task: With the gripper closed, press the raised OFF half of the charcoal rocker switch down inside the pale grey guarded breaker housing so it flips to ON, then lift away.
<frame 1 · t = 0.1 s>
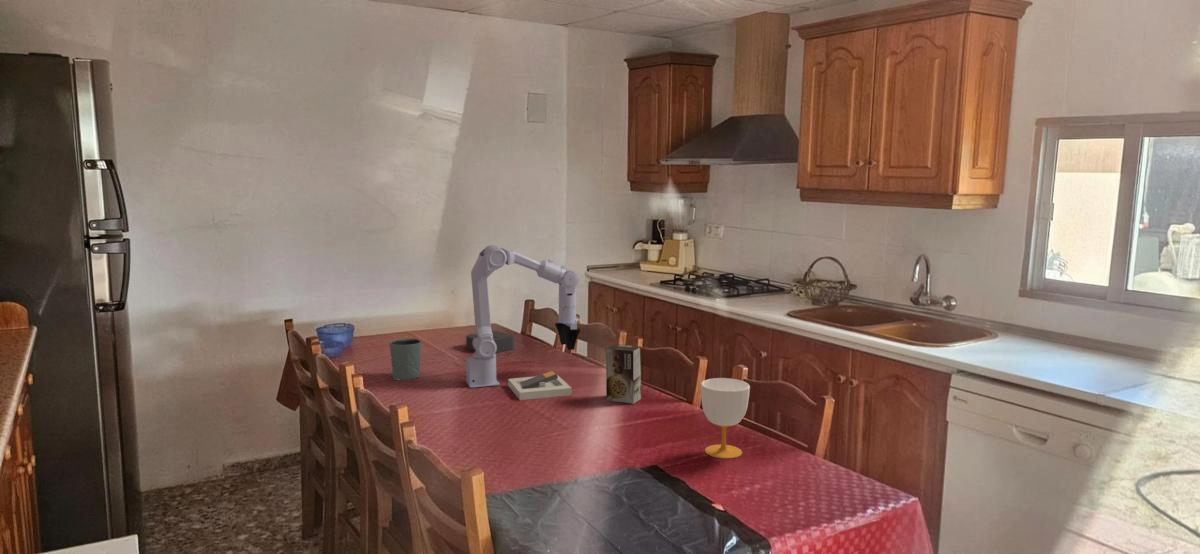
hand: (567, 346, 257), 10 cm above the table, fingers open, 7 cm apart
rocker: (538, 380, 242), point 3 cm above the table, hinge at -15.0°
cup: (723, 452, 191), on the table
breaker housing: (539, 390, 243), on the table
coffee box: (623, 400, 234), on the table
green plant pot: (406, 377, 258), on the table
streaming box: (490, 349, 298), on the table
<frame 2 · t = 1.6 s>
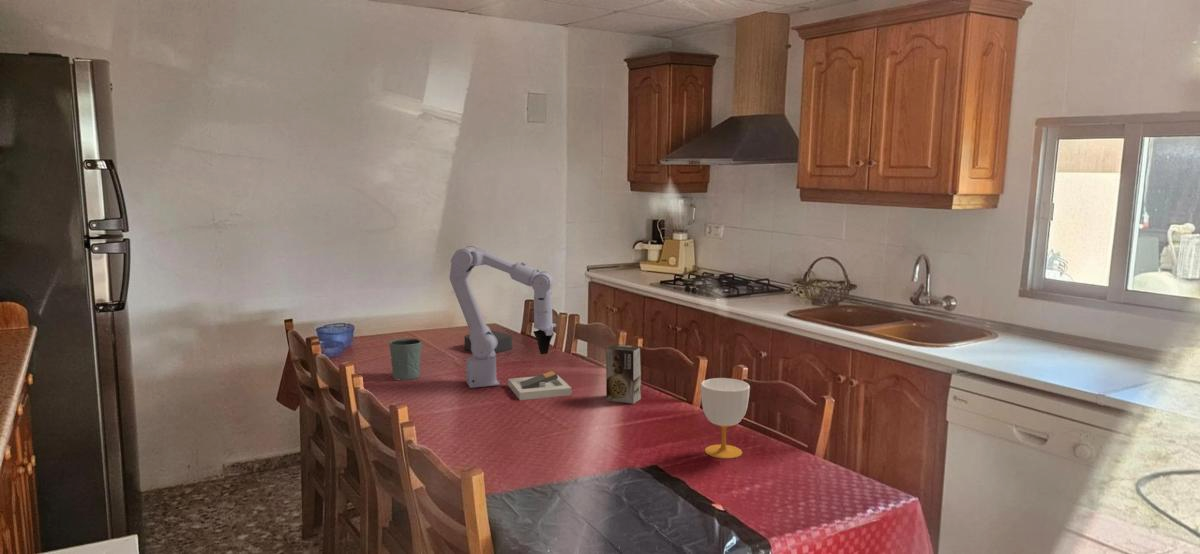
hand: (543, 353, 246), 11 cm above the table, fingers closed
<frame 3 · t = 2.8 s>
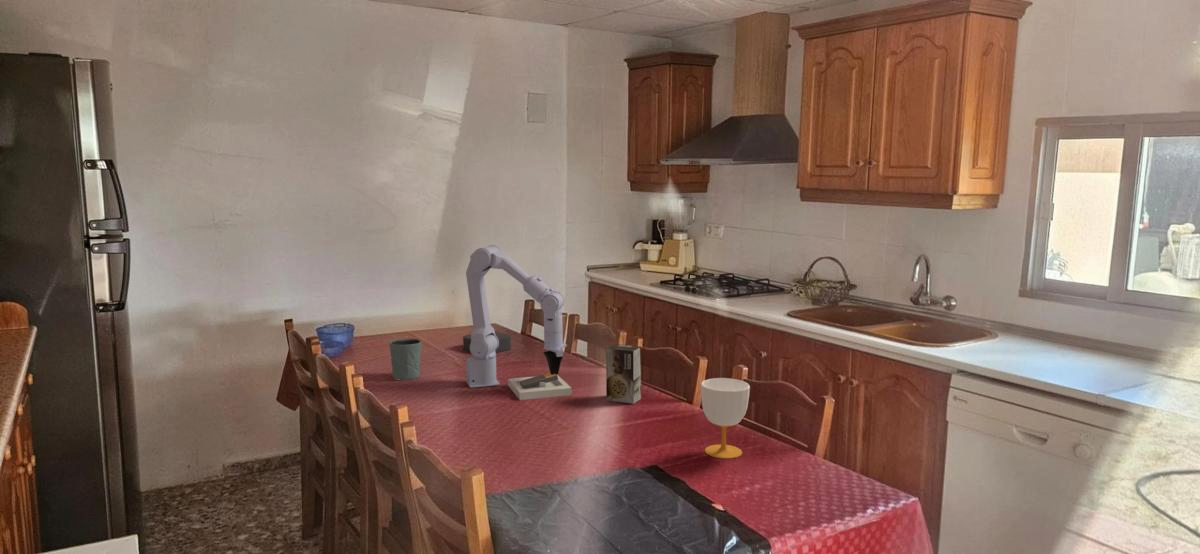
hand: (554, 374, 243), 5 cm above the table, fingers closed, pressing on rocker
rocker: (538, 380, 242), point 3 cm above the table, hinge at -11.1°, touching gripper
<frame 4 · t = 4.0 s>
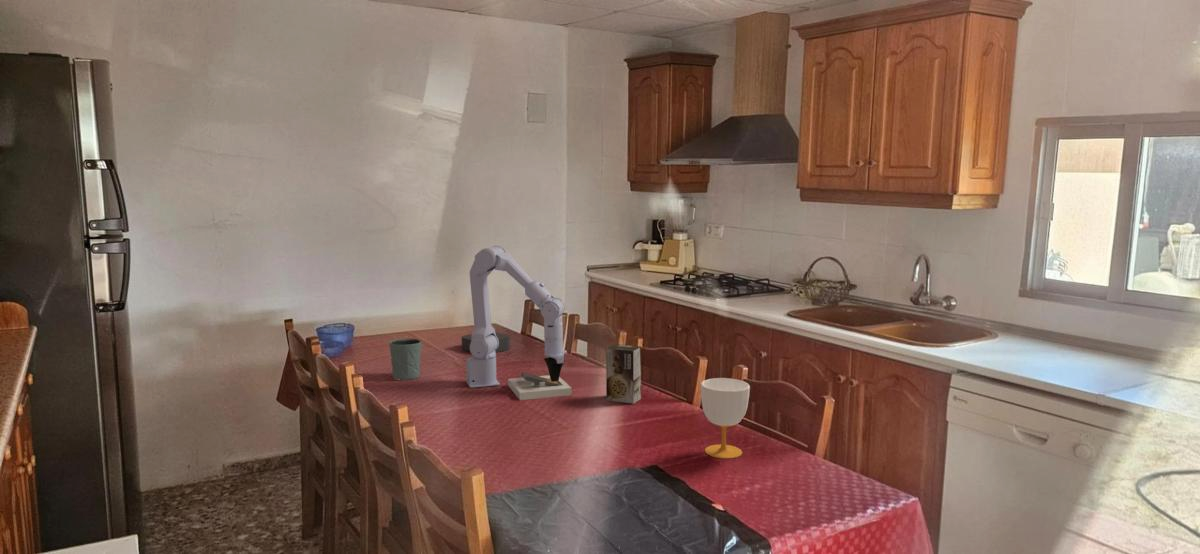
hand: (554, 380, 244), 3 cm above the table, fingers closed, pressing on rocker
rocker: (540, 379, 242), point 3 cm above the table, hinge at 19.5°, touching gripper
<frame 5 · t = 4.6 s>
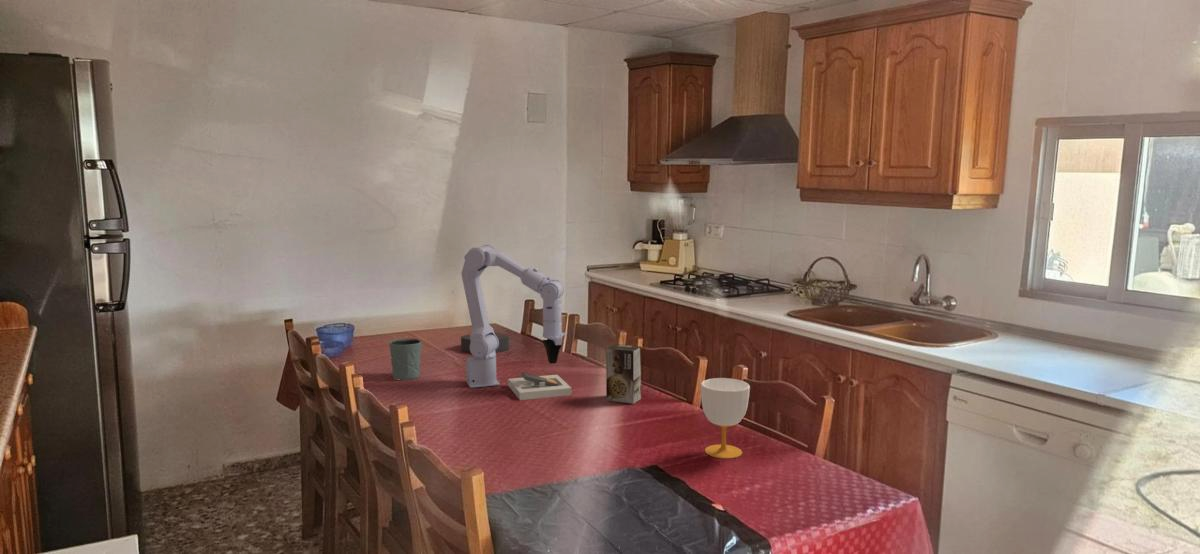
hand: (552, 362, 243), 8 cm above the table, fingers closed
rocker: (540, 379, 242), point 3 cm above the table, hinge at 19.6°
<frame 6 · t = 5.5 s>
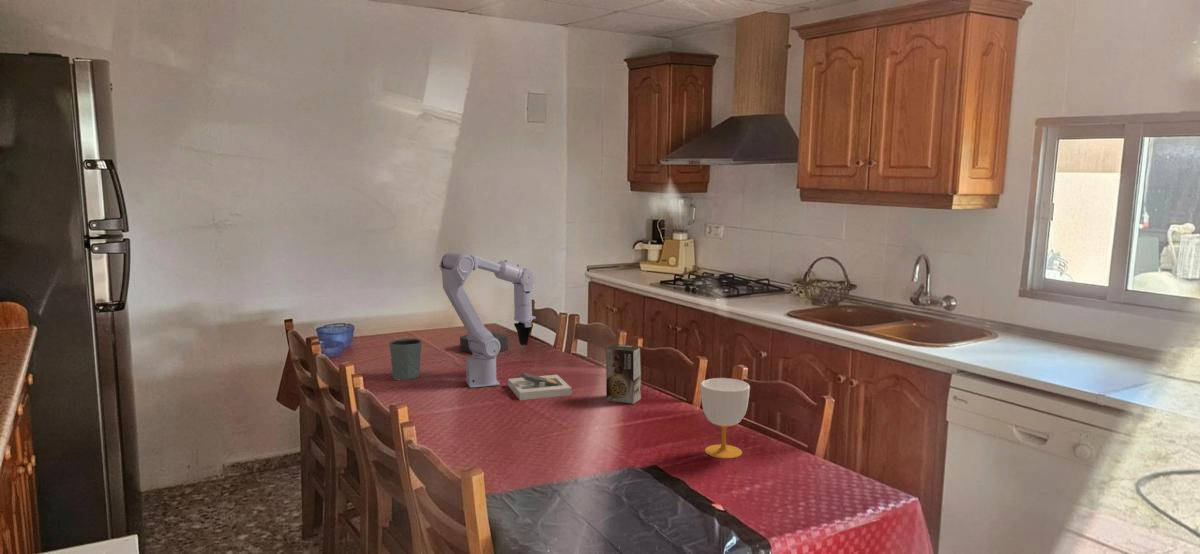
hand: (523, 344, 259), 10 cm above the table, fingers closed
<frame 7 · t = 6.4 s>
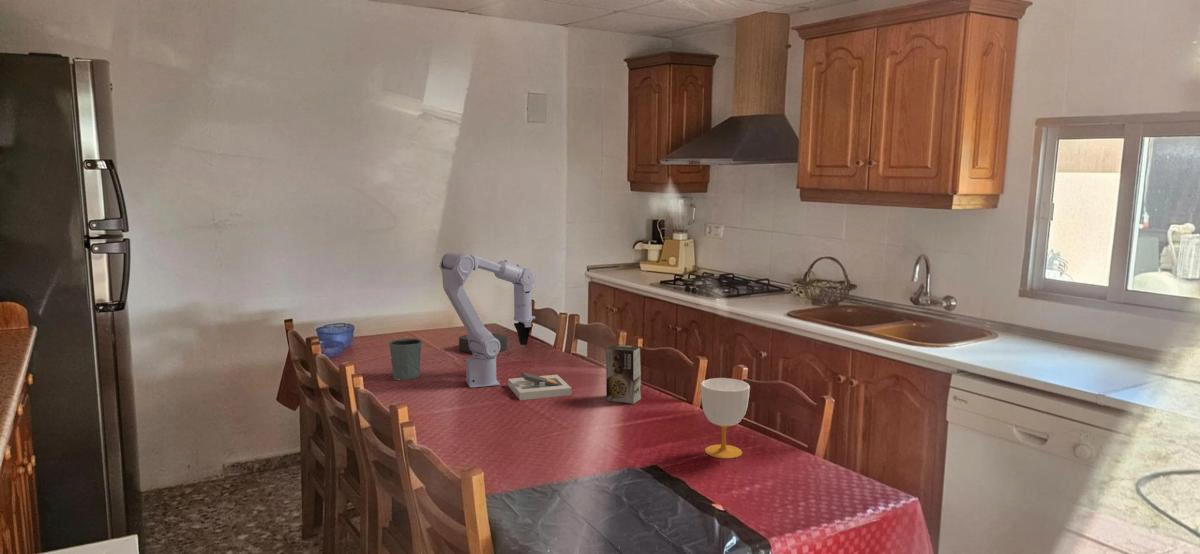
hand: (523, 344, 259), 10 cm above the table, fingers closed
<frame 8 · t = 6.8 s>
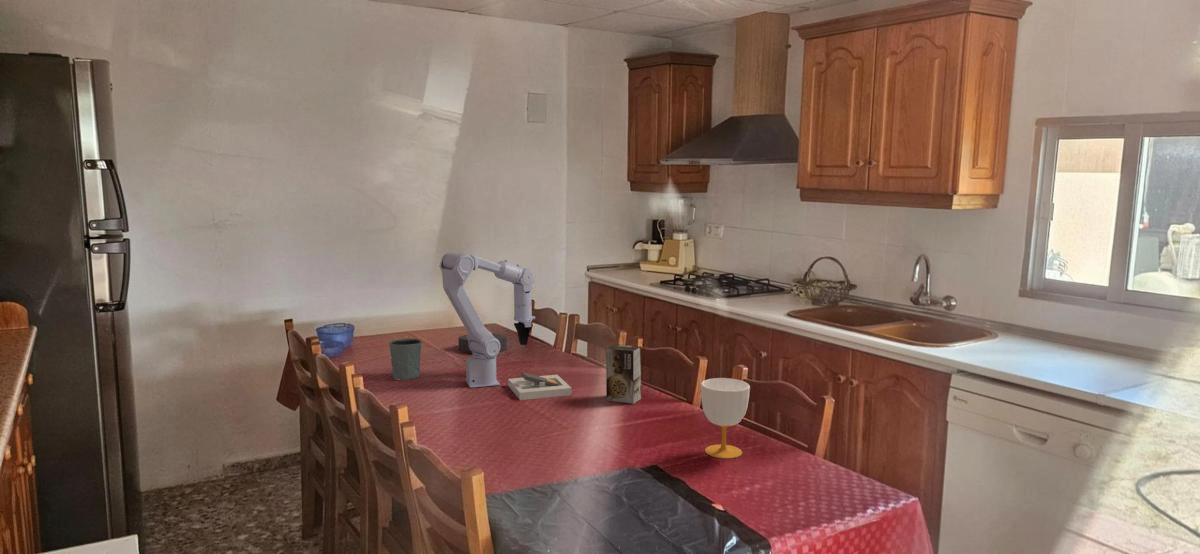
hand: (523, 344, 259), 10 cm above the table, fingers closed
at the end: rocker at +20° (first picture: -15°) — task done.
